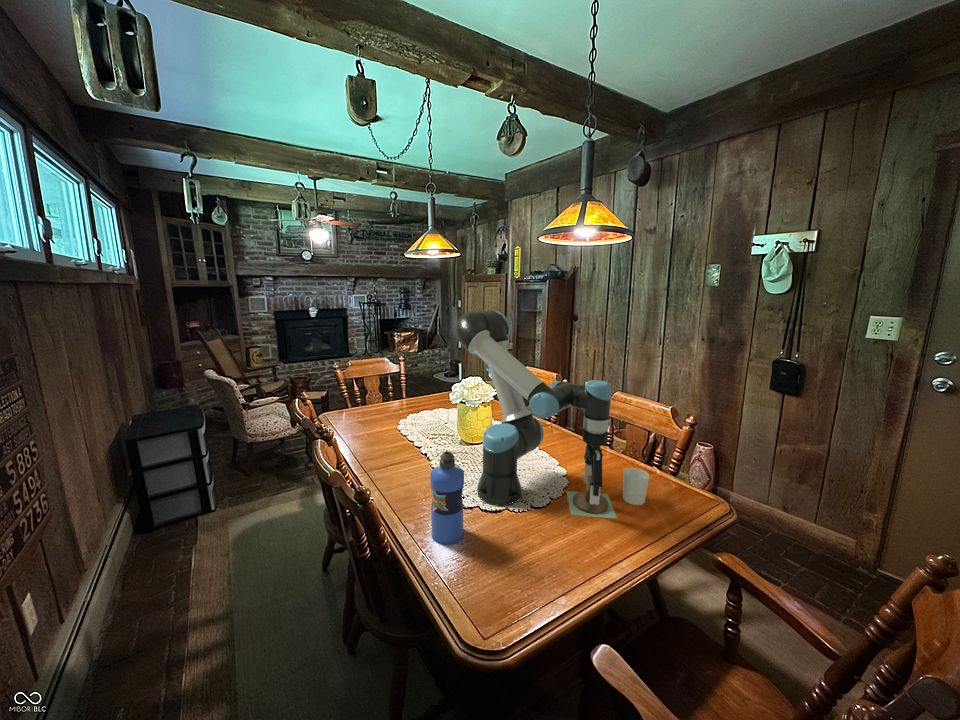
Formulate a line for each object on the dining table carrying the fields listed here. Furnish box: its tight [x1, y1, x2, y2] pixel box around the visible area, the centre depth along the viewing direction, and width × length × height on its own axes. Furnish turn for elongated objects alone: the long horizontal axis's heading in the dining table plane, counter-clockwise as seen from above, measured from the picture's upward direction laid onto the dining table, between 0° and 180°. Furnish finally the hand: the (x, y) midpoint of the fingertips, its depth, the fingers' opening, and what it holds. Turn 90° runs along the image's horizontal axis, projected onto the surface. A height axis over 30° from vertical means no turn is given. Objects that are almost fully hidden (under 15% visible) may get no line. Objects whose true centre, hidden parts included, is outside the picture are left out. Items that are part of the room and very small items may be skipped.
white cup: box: [622, 467, 650, 506], centre depth 124 cm, size 8×8×10 cm
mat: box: [565, 490, 618, 520], centre depth 122 cm, size 14×14×1 cm
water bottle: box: [429, 450, 465, 546], centre depth 104 cm, size 9×9×25 cm
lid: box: [573, 475, 608, 514], centre depth 121 cm, size 11×11×9 cm
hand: (591, 492), depth 121 cm, fingers open, 12 cm apart
